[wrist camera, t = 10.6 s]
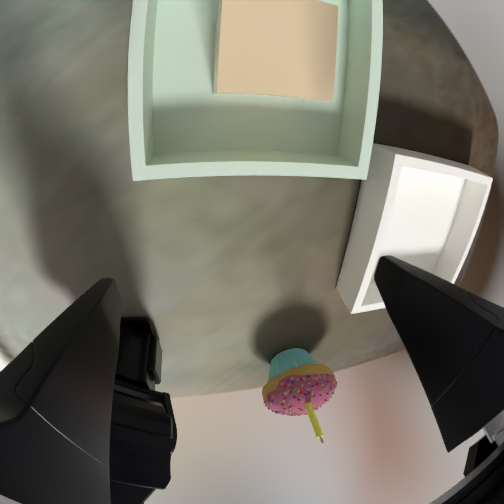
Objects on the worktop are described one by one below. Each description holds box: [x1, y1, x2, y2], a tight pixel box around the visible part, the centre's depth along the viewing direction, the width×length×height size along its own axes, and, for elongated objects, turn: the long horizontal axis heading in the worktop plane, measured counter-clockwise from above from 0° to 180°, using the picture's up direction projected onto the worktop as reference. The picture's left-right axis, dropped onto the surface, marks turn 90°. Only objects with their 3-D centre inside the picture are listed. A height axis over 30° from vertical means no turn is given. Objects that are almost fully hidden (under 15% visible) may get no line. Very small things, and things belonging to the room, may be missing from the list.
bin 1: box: [128, 0, 383, 181], centre depth 13 cm, size 14×14×4 cm
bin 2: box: [336, 143, 493, 314], centre depth 22 cm, size 14×14×4 cm
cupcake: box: [262, 348, 337, 443], centre depth 26 cm, size 9×8×12 cm
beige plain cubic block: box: [213, 0, 338, 102], centre depth 11 cm, size 5×5×6 cm
